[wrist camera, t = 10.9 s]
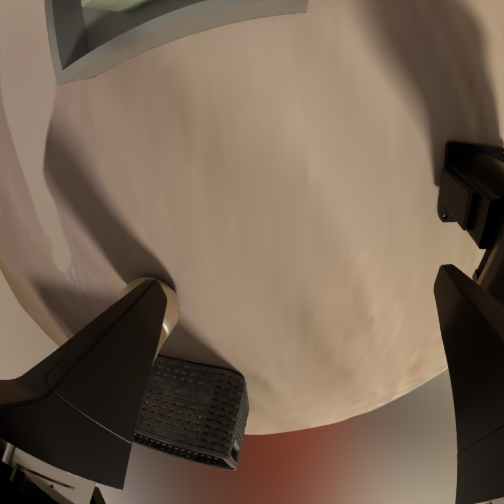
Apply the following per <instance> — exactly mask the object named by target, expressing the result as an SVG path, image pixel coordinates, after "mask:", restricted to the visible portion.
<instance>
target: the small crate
mask: <svg viewBox="0 0 504 504" xmlns="http://www.w3.org/2000/svg"><path fill="white" fill-rule="evenodd" d="M153 1H156V0H81V5H82V7H89V8H98V9H106V10H113V11H119V12H125V13H130V12H132V11H134V10H136V9H138V8H140V7H142V6H144V5H147V4H149V3H151V2H153Z"/></svg>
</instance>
